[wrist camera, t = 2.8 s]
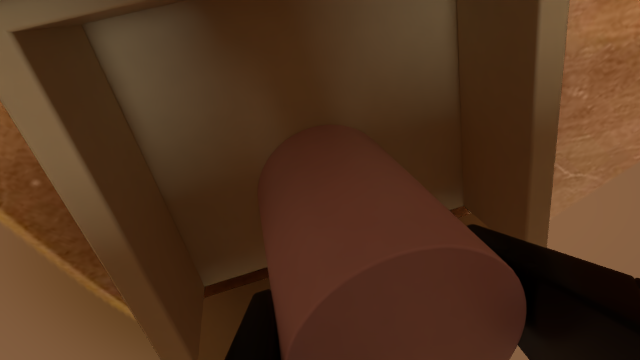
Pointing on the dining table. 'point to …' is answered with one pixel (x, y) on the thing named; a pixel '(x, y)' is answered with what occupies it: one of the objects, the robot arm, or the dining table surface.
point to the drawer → (270, 125)
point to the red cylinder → (376, 260)
